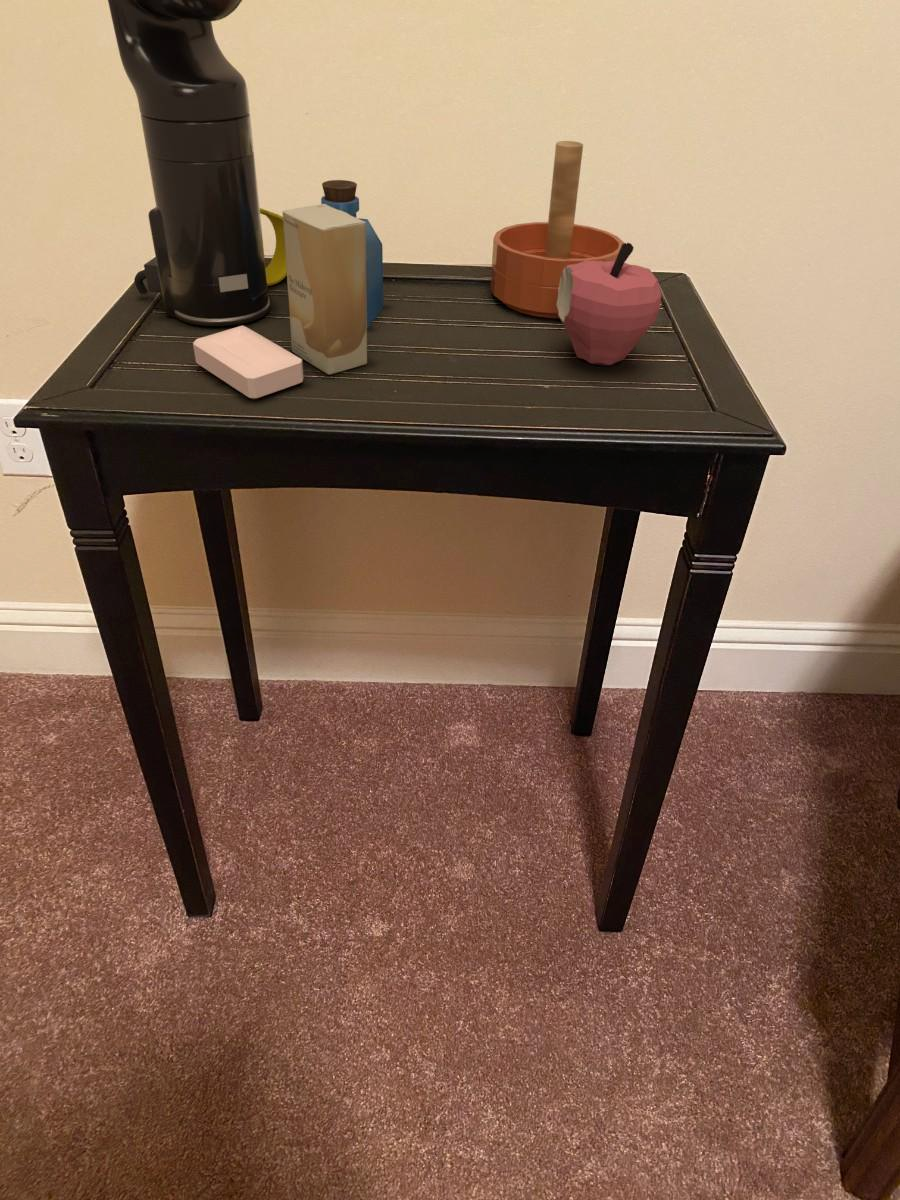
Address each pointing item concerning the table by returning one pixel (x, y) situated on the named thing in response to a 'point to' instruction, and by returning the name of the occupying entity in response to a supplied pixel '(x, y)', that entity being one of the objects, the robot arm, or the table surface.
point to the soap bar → (248, 361)
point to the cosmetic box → (327, 286)
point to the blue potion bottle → (344, 199)
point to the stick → (563, 199)
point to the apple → (607, 306)
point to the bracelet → (276, 250)
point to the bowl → (541, 264)
